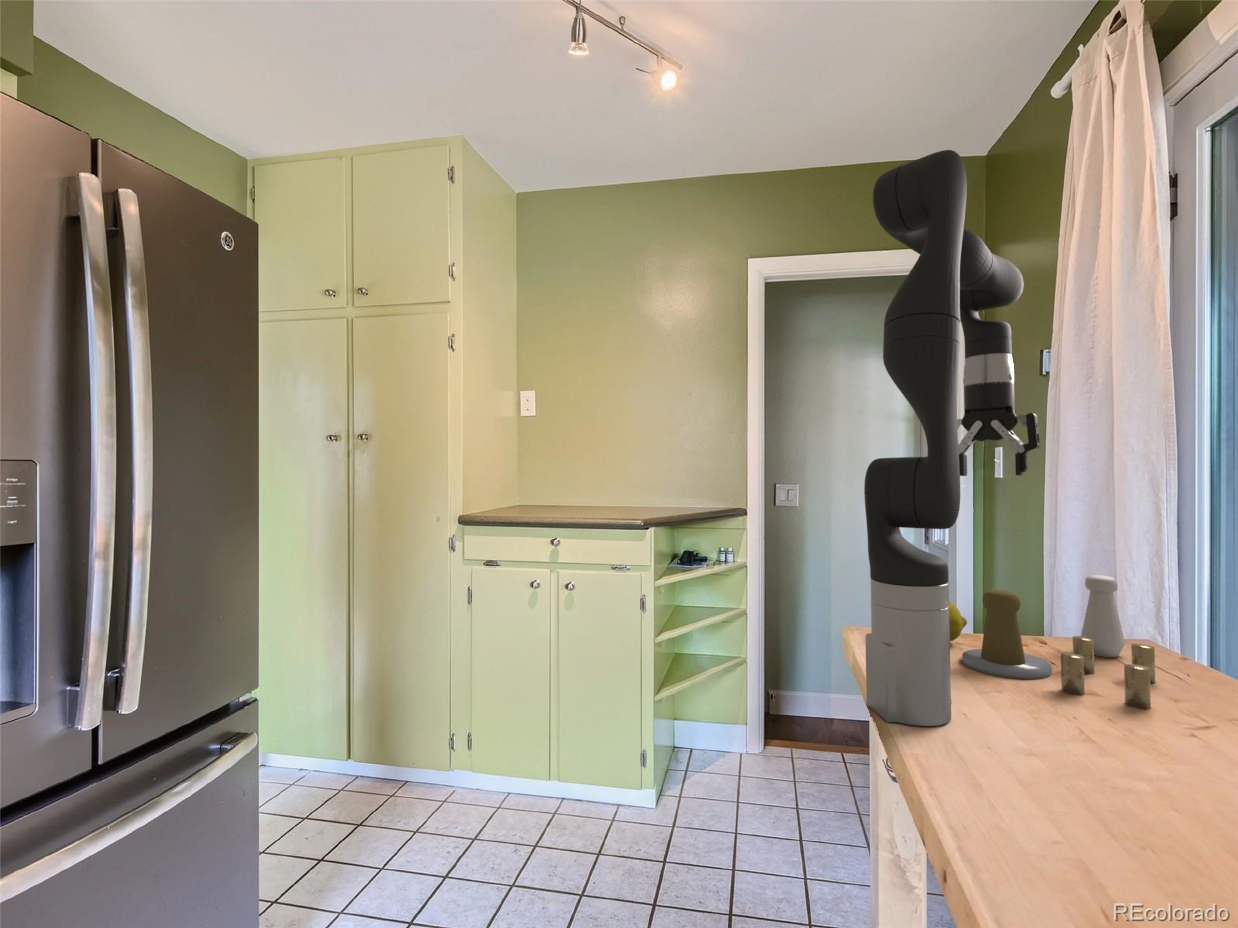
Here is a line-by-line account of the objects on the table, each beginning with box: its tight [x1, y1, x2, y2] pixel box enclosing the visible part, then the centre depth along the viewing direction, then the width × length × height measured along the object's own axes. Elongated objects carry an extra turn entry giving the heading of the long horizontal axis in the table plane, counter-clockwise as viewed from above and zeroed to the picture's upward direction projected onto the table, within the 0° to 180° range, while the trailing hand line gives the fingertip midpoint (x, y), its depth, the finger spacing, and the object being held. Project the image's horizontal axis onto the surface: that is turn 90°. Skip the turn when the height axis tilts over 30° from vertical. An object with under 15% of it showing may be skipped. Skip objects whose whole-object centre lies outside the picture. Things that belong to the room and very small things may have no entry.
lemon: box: [949, 601, 968, 642], centre depth 111 cm, size 11×8×8 cm
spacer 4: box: [1123, 663, 1152, 710], centre depth 81 cm, size 3×3×5 cm
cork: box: [981, 588, 1025, 665], centre depth 97 cm, size 6×6×11 cm
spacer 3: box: [1131, 643, 1156, 684], centre depth 90 cm, size 3×3×5 cm
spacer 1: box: [1060, 652, 1086, 696], centre depth 86 cm, size 3×3×5 cm
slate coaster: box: [961, 648, 1053, 680], centre depth 97 cm, size 12×12×1 cm
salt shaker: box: [1080, 574, 1126, 658], centre depth 103 cm, size 6×6×13 cm
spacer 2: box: [1072, 635, 1095, 675], centre depth 94 cm, size 3×3×5 cm
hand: (990, 475), depth 106 cm, fingers open, 8 cm apart
